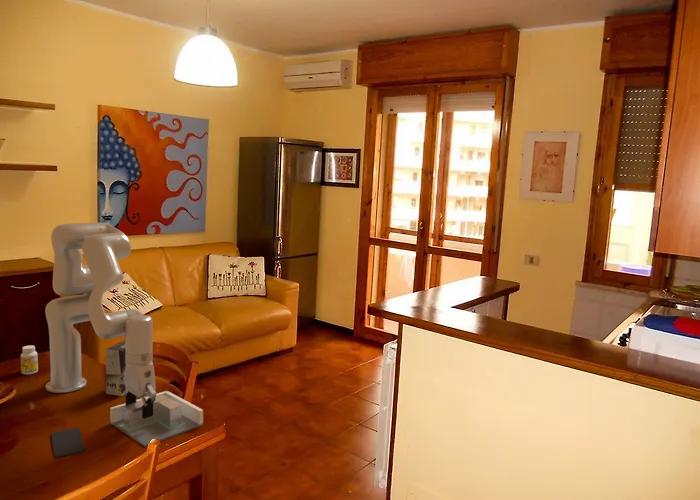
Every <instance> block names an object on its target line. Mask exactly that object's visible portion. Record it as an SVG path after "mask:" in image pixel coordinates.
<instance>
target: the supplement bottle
mask: <svg viewBox="0 0 700 500" xmlns="http://www.w3.org/2000/svg"><path fill="white" fill-rule="evenodd" d="M21 349H22V350H21V351H22V353H21V354H20V373H21V374H23V375H32V374H33V375H34V374H35V373H38V372H39V361H38V360H39V359H38V358H39V357H38V352H37V351H36V346H35V345H31V344H30V345H26V346H22V348H21Z"/></svg>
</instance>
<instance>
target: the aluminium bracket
mask: <svg viewBox="0 0 700 500" xmlns="http://www.w3.org/2000/svg"><path fill="white" fill-rule="evenodd" d="M147 400H148V399H146V401H147ZM142 405H144V404H143V401H139V402H135V403H132V404H129V405H126V406H122V410H123V426H124V427H126V428H127V429H129V430H131V429H134V428H137V427H140V426H143V425H146V424H148V423H151V422H154V421H157V420H158V421H159V422H161V423H163V424H164V425H166V426H168V427H169V428H172V427H174V426H177V425H180V424H182V405H181V404H179V403H177V402H176V401H174V400H172V399H170V398H168V397H166V396H165V395H163V394H161V395H158V396H156V398H155V401H154V404H153V416H151V417H148V418H145V419H143V418H142Z"/></svg>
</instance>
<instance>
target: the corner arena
mask: <svg viewBox="0 0 700 500" xmlns="http://www.w3.org/2000/svg"><path fill="white" fill-rule="evenodd" d="M161 394H163V395H165V396H166V397H168V398H170V399H172V400H174V401H176V402H177V403H179V404H181V405H182V424H180V425H177V426H174V427H172V428H169V427H168V426H166V425H164V424H163V423H161V422H159V421H158V420H157V421H154V422H151V423H148V424H146V425H143V426H140V427H137V428H134V429H131V430H129V429H127V428H126V427H124V426H123V410H122V406H126V402H125V403H122V404H118V405H116V406H112V407H110V408H109V411H110V412H109V419H110V420H109V421H110V425H112V426H113V427H114V428H116V429H117V430H119V431H121V432H122V433H124V434H125V435H126V436H128V437H129V438H131V439H132V440H134V441H135V442H136V443H138V444H140V445H141V446H142V447H144V448H147V447H148V446H147V445H148V443H149V442H150V441H151V440H152V439H159V440H160V442H162V441H165V440H167V439H170V438H173V437H176V436H178V435H182V434H185V433H187V432H189V431H191V430H194V429H197V428H199V427H202V426H203V425H204V409H202V408H201V407H199V406H196V405H195V404H193V403H191V402H189V401H187V400H185V399H183V398H182V397H180V396H178V395H176V394H174V393H172V392H170V391H169V390H164V391H162V392H159V393H158V392H157V393H156V396H158V395H161ZM148 398H149V397H145V399H148ZM139 401H142V399H141V398H139V399H136V402H139Z"/></svg>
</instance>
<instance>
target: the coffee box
mask: <svg viewBox="0 0 700 500" xmlns="http://www.w3.org/2000/svg"><path fill="white" fill-rule="evenodd" d="M105 351H106V352H105V355H106V357H105V361H106V362H105V373H106V374H105V378H106V380H105V381H106V383H105V385H106V386H105V387H106V388H105V389H106V390H105V395H112V396H118V397H123V396H126V395H125V388H124V381H123V378H124V377H125V369H126V363H125V341H119V342H117V343H116V344H114V345H112V346H109V347H107V348H105Z"/></svg>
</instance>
